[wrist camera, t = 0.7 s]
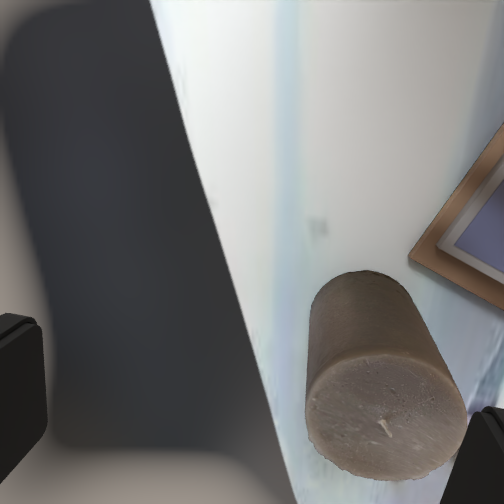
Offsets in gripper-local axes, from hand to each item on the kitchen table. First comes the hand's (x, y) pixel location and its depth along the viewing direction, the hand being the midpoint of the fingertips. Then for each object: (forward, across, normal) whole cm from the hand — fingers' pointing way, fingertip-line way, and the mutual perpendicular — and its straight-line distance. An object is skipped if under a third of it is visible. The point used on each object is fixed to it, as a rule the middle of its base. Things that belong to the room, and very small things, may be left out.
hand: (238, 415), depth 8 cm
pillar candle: (+28, -8, +10) cm, 31 cm away
